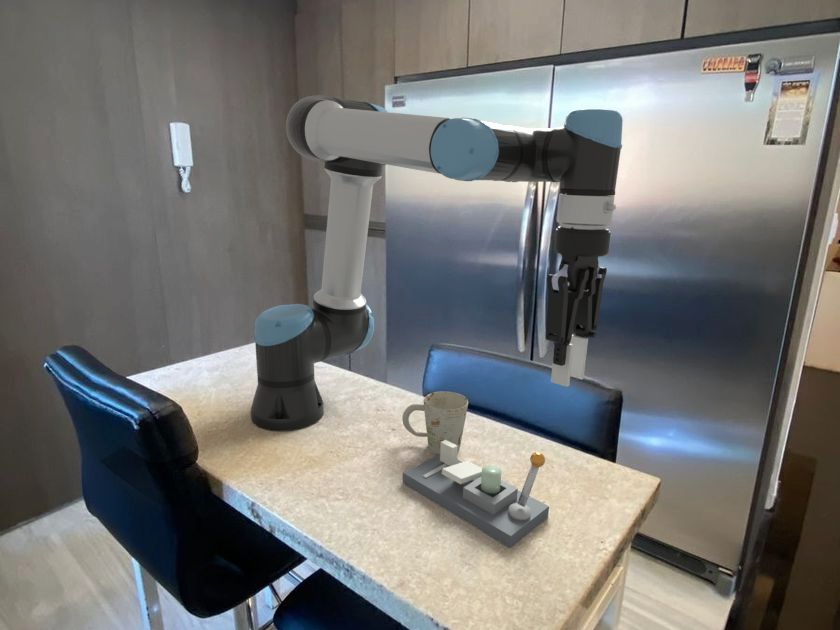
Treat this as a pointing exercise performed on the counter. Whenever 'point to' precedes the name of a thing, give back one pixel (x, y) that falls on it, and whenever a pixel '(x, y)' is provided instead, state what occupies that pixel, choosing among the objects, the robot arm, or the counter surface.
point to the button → (491, 479)
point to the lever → (531, 476)
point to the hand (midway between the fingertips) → (567, 379)
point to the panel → (478, 502)
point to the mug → (440, 418)
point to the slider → (448, 453)
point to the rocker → (462, 472)
